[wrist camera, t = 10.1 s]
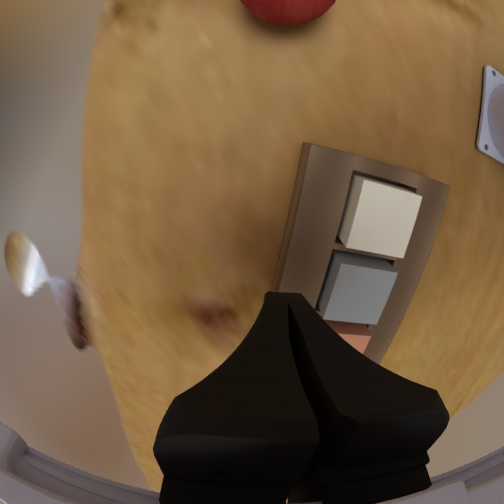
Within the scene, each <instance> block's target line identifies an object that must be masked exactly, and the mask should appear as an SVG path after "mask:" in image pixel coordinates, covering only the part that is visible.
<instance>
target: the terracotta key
mask: <svg viewBox="0 0 504 504" xmlns="http://www.w3.org/2000/svg"><path fill="white" fill-rule="evenodd" d="M323 320H324V321H325V322H326V323H327V324H328V325H329V326H330V327H331V328H332V329H333V330H334V331H335V332H336V333H337V334H339V335H340V336H341V337H342V338H343V339H344V340H345V341H346V342H348V343H349V344H350V345H351V346H353V347H354V348H355V349H357V350H358V351H359V352H360V353H362V354H363V352H364V350H365V348H366V346H367V344H368V342H369V340H370V338H371V334H370V332H369V330H368V328H367V326H366V324H363V323H353V322H343V321H334V320H325V319H323Z"/></svg>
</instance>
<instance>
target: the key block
mask: <svg viewBox="0 0 504 504" xmlns="http://www.w3.org/2000/svg"><path fill="white" fill-rule="evenodd" d="M352 174H356V175H360V176H364V177H368V178H371V179H375V180H379V181H382V182H386V183H389V184H393V185H396V186H399V187H403V188H405V189H407V190H409V191H412V192H414V193H416V194H418V195H420V196H422V200H421V204H420V207H419V211H418V214H417V217H416V221H415V224H414V227H413V231H412V234H411V237H410V240H409V243H408V246H407V249H406V252H405V255H404V257H403V258H398V257H393V256H388V255H383V254H378V253H372V252H367V251H362V250H356V249H351V248H346V247H345V245H344V244H343V243H342V241H341V240H340V238H339V237H338V236H337V232H338V228H339V224H340V220H341V216H342V213H343V209H344V205H345V201H346V197H347V192H348V188H349V184H350V180H351V175H352ZM449 190H450V186H449V185H446V184H444V183H441V182H438V181H436V180H433V179H430V178H428V177H425V176H422V175H419V174H416V173H413V172H410V171H407V170H404V169H401V168H398V167H395V166H392V165H389V164H385V163H382V162H379V161H375V160H372V159H368V158H365V157H361V156H358V155H354V154H350V153H346V152H343V151H339V150H335V149H331V148H326V147H322V146H318V145H313V144H309V143H304V142H303V147H302V152H301V157H300V162H299V167H298V172H297V177H296V182H295V187H294V192H293V197H292V201H291V206H290V211H289V215H288V220H287V225H286V229H285V234H284V239H283V243H282V248H281V252H280V257H279V261H278V266H277V270H276V274H275V279H274V283H273V287H272V292H286V293H301V294H302V295H303V296H304V297H305V299H306V300H307V301H308V302H309V303H310V305H311V306H312V307H313V308H314V309H315V311H316V312H317V313H318V314H319V315H320V316H321V317H322V315H321V312H320V309H319V305H318V302H317V300H318V296H319V293H320V290H321V287H322V284H323V280H324V277H325V274H326V270H327V267H328V264H329V260H330V257H331V253H332V250H333V249H336V250H341V251H347V252H353V253H358V254H363V255H369V256H374V257H380V258H385V259H386V260H387V261H388V262H389V263H390V264H391V265H392V267H393V268H394V269H395V270H396V271H397V272H398V274H397V277H396V279H395V282H394V285H393V287H392V290H391V292H390V295H389V297H388V299H387V302H386V304H385V307H384V309H383V311H382V314H381V316H380V318H379V320H378V323H377V325H374V324H366V326H367V328H368V330H369V332H370V334H371V338H370V340H369V342H368V344H367V346H366V348H365V350H364V352H363V355H365V356H366V357H368V358H369V359H371V360H372V361H374V362H376V363H377V364H380V362H381V361H382V359H383V357H384V355H385V353H386V351H387V349H388V347H389V346H390V344H391V342H392V340H393V338H394V336H395V334H396V332H397V330H398V328H399V326H400V324H401V321H402V319H403V317H404V315H405V313H406V311H407V309H408V306H409V304H410V302H411V300H412V297H413V295H414V293H415V290H416V288H417V285H418V283H419V281H420V278H421V276H422V273H423V271H424V268H425V265H426V263H427V260H428V257H429V255H430V252H431V249H432V246H433V243H434V240H435V237H436V234H437V231H438V228H439V225H440V222H441V218H442V215H443V212H444V208H445V205H446V201H447V198H448V194H449Z"/></svg>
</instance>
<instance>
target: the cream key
mask: <svg viewBox="0 0 504 504" xmlns="http://www.w3.org/2000/svg"><path fill="white" fill-rule="evenodd" d="M421 200H422V196H420V195H418V194H416V193H414V192H412V191H409V190H407V189H405V188H403V187H399V186H396V185H393V184H389V183H386V182H382V181H379V180H375V179H371V178H368V177H364V176H360V175H356V174H352V175H351V180H350V184H349V188H348V192H347V197H346V201H345V205H344V209H343V213H342V216H341V220H340V224H339V228H338V232H337V236H338V237H339V238H340V240H341V241H342V243H343V244H344V245H345V247H346V248H351V249H356V250H362V251H367V252H372V253H378V254H383V255H388V256H393V257H398V258H403V257H404V255H405V252H406V249H407V246H408V243H409V240H410V237H411V234H412V231H413V227H414V224H415V221H416V217H417V214H418V211H419V207H420V204H421Z"/></svg>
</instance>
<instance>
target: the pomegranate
mask: <svg viewBox="0 0 504 504" xmlns="http://www.w3.org/2000/svg"><path fill="white" fill-rule="evenodd" d="M335 1H336V0H241V2H242V3H243V4H244V5H245V6H246V7H247V8H248V10H249V11H250V12H251V13H252V14H254V15H256V16H258V17H260V18H262V19H264V20H266V21H268V22H274V23H279V24H285V25H289V24H301V23H306V22H308V21H311V20H313V19H316V18H319V17H320V16H322V15H323V14H324V13H325V12H326V11H327V10H328V9H329V8H330V7H331V6H332V5H333V4H334V3H335Z"/></svg>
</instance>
